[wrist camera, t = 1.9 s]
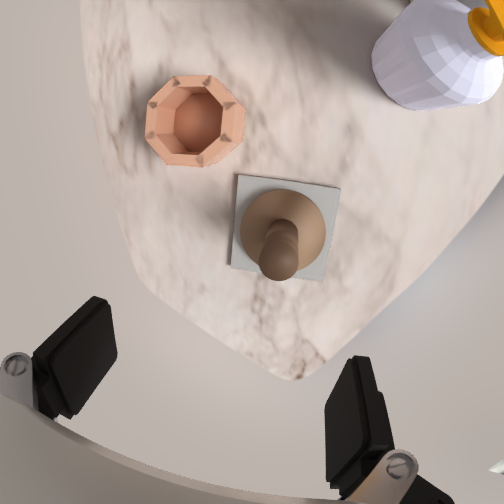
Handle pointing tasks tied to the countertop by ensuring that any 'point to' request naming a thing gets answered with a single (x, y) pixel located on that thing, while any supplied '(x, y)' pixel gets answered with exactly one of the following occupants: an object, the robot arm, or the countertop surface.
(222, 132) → the octagonal peach pot
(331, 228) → the mat
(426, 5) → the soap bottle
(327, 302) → the countertop surface
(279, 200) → the lid
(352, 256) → the countertop surface
